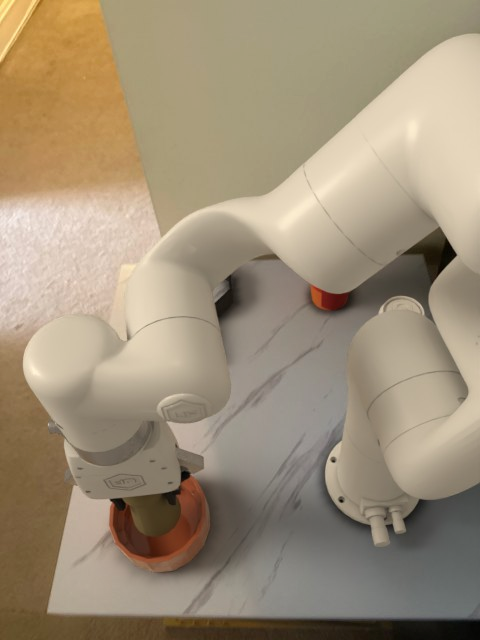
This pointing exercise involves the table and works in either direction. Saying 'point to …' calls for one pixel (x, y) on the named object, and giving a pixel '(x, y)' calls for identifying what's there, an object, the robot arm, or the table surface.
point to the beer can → (402, 305)
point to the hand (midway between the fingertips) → (147, 494)
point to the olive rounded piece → (153, 513)
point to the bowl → (170, 546)
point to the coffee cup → (328, 299)
